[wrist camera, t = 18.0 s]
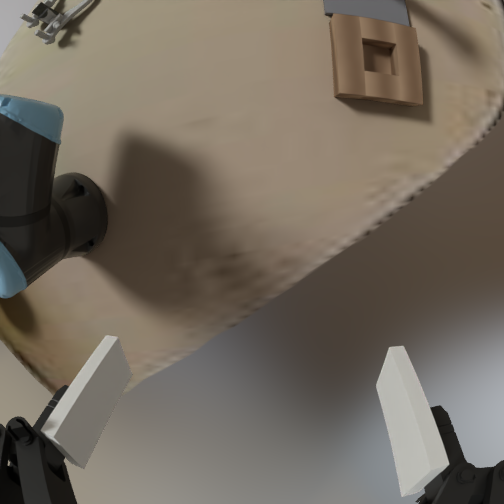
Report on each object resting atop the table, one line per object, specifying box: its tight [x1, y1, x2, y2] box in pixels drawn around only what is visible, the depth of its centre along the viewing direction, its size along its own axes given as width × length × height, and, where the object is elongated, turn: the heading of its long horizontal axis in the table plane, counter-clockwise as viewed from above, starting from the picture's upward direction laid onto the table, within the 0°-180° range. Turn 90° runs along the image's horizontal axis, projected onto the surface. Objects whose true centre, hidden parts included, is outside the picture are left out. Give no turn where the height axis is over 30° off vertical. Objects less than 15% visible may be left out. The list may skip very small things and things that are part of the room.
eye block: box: [329, 13, 423, 106], centre depth 30 cm, size 12×12×4 cm
